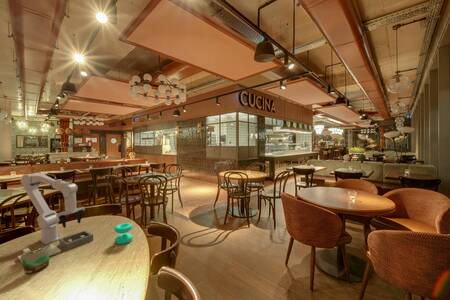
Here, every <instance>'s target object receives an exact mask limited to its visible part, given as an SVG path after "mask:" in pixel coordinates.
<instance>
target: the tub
mask: <svg viewBox="0 0 450 300" xmlns="http://www.w3.org/2000/svg"><path fill="white" fill-rule="evenodd" d="M92 241H94V234H93V233H90V232H89V231H88V230H82V231H79V232H76V233H73V234H70V235H68V236H64V237H62V238H61V237H60V239H59V240H58V244H59V246H61V247H62V248H63V249H65V250H66V251H68V250H71V249H73V248H76V247H79V246H81V245H84V244H86V243H90V242H92Z"/></svg>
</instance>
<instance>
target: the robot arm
mask: <svg viewBox="0 0 450 300" xmlns="http://www.w3.org/2000/svg"><path fill="white" fill-rule="evenodd" d="M20 183H21V185H22V187H23V189H24V190H25V193H26V194H27V196H28V198H29V199H30V201H31V203H32V205H33V207H35V208H34V209H36V211H37V213H38V214H39V215H38V216H37V218H36V221H37V225H38V227H39V228H40V232H41V233H40V235H41V238H40V239H39V241H40V242H41V243H42V244H43V245H47V243H49V244H50V243H52V242H55V241H59V239H61V237H59V236H58V235H59V234H58V224H59V223H60V222H61V225H62V227H63V229H65V228H67V225H66V224H67V223H66V218H67V217H66V216H67V215H71V214H75V213H76V217H77V218H76V221H77V224H81V220H82V218H83V215H84V213H85V211H86V207H85V206H81V207H77V192H78V189H79V187H78V185H77V184H76V183H74V182H72V183H70V182H68V181H67V182H66V181H64V180H63V179H54V178H52V177H50V176H48V175H46V174H45V173H43V172H40V171H38V172H35V173H28V174H26V173H25V174H23V175H22V176H21V178H20ZM42 183H43V184H47V185H49V186H51V187H52V189H55V190H57V191H60V192H61V193H62V196H63V198H64V199H63V200H64V211H61V212H58V213H57V212H56V210H52V209H50V207H49V205H48V204H47V202H46V200H45V199H44V197H43V195H42V194H41V192H40V190H39V187H40V186H41V185H42Z"/></svg>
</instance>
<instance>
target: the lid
mask: <svg viewBox="0 0 450 300" xmlns="http://www.w3.org/2000/svg"><path fill="white" fill-rule="evenodd" d="M50 246H51V250H50V252H49V257H51V256H54V255H57V254H59V253H61V252H62V250H61V249H60V248H59V247H57V246H56V245H55V244H50ZM22 252H23V254H21V255H18V256H17V259H18V260H19V261H20V262H21V263H22V264H23V261H22V260H21V256H22V255H27V254H29V253H30V252H32V250H31V249H30V248H28V247H27V248H24V249H23V250H22Z"/></svg>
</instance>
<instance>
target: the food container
mask: <svg viewBox="0 0 450 300" xmlns="http://www.w3.org/2000/svg"><path fill="white" fill-rule="evenodd" d="M50 245H51V244H50V243H47V244H44V245H43V246H42V247H38V248H36V249H34V250H31V252H30V253H29V254H27V255H23V254H21V255H22V256H21V260H22V261H23V263H22V264H23V271H24V274H25V275H32V274H36V273H40V272H42V271H43V270H46V269H47V268H48V267H49V264H50V256H49V252H50V250H51V246H50Z"/></svg>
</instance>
